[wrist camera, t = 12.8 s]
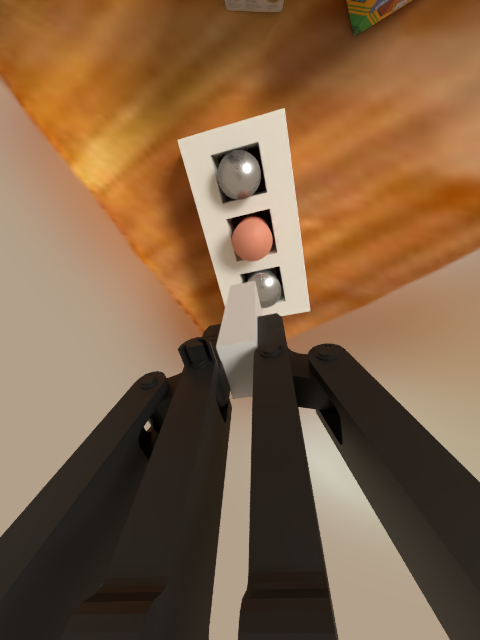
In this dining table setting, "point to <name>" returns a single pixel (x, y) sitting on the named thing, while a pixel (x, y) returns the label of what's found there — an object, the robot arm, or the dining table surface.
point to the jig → (250, 205)
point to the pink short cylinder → (252, 238)
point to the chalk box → (371, 12)
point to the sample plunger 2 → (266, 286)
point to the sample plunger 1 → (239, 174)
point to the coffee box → (255, 5)
